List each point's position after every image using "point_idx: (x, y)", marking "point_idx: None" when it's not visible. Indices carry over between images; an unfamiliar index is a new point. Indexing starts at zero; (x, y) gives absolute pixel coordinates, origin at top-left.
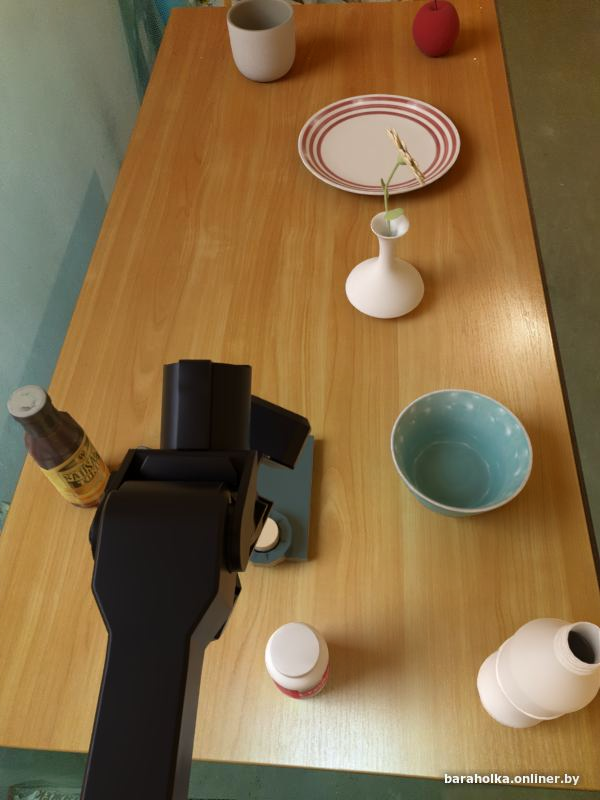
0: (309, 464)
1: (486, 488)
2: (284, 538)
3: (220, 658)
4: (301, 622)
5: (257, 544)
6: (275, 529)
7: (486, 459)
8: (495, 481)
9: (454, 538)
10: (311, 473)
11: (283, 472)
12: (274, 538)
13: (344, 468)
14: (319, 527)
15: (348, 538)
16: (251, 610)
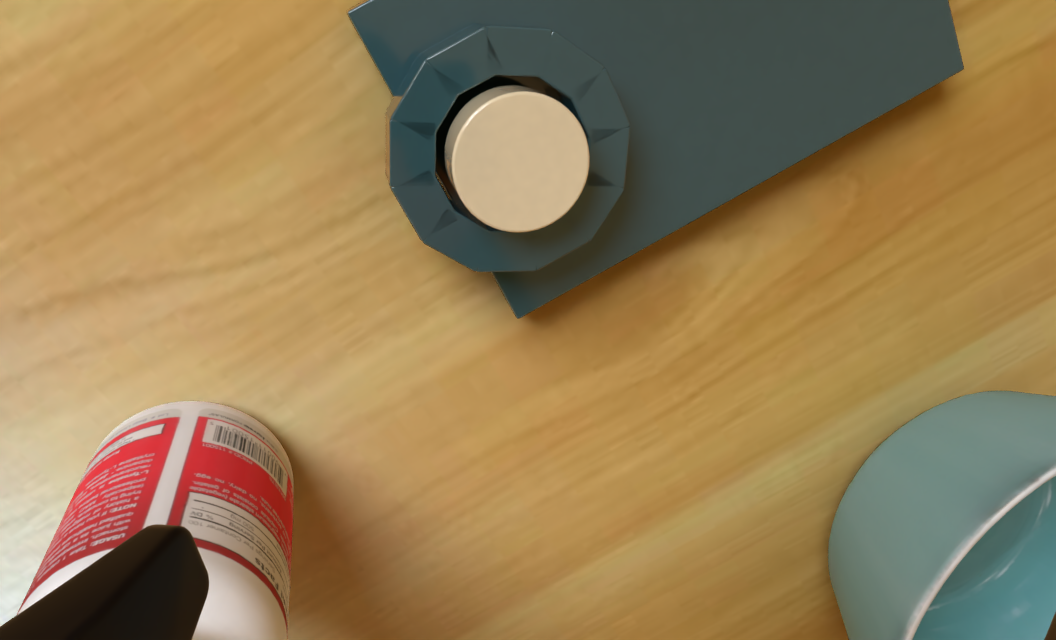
0: (847, 123)
1: (936, 599)
2: (542, 237)
3: (22, 243)
4: (267, 613)
5: (462, 179)
6: (557, 207)
7: (1018, 564)
8: (965, 617)
9: (770, 592)
10: (816, 151)
11: (782, 46)
12: (521, 227)
13: (865, 224)
14: (638, 269)
15: (646, 368)
16: (246, 237)
